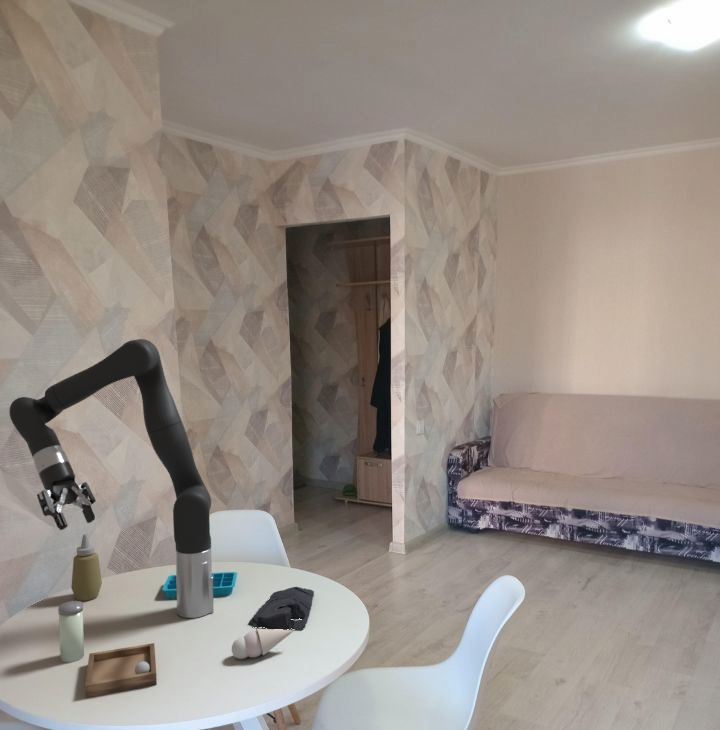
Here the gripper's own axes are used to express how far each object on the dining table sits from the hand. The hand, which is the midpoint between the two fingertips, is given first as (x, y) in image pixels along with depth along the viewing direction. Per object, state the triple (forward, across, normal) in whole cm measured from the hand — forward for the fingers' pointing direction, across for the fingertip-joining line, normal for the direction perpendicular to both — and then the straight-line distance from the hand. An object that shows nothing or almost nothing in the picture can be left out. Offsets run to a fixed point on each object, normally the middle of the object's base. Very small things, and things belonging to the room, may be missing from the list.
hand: (78, 524), depth 158 cm
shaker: (+28, -8, +9) cm, 30 cm away
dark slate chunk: (+44, +32, -21) cm, 58 cm away
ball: (+38, -10, -11) cm, 41 cm away
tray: (+37, -9, -5) cm, 38 cm away
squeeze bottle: (+14, +19, +27) cm, 36 cm away
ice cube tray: (+28, +35, +4) cm, 45 cm away
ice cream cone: (+49, +10, -26) cm, 56 cm away
